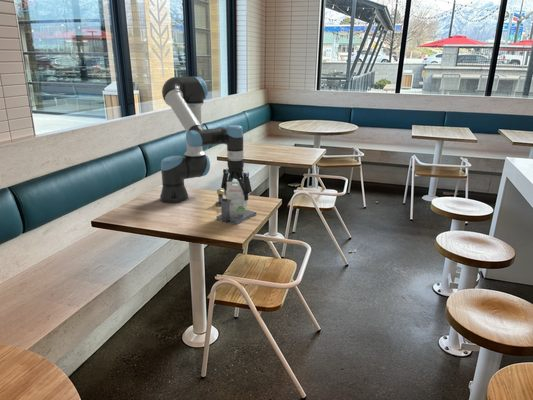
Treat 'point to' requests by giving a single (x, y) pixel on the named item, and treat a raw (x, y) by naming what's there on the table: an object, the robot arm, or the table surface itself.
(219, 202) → the lever post
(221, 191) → the lever
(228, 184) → the ink box
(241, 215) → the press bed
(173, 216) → the table surface
